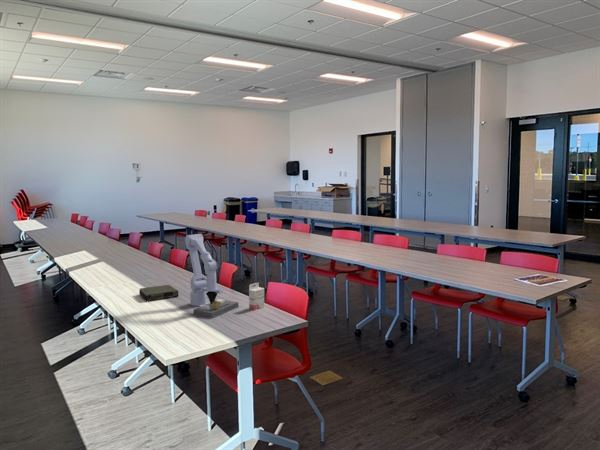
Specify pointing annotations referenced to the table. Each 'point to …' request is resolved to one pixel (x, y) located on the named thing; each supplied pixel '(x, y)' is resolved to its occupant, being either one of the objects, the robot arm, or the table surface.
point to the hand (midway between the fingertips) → (212, 303)
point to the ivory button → (220, 301)
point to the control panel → (216, 312)
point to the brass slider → (215, 305)
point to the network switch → (158, 292)
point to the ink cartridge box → (256, 296)
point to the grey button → (204, 307)
